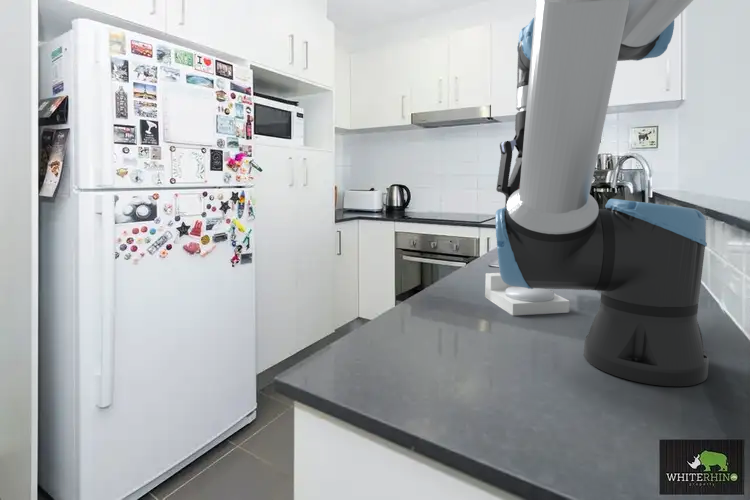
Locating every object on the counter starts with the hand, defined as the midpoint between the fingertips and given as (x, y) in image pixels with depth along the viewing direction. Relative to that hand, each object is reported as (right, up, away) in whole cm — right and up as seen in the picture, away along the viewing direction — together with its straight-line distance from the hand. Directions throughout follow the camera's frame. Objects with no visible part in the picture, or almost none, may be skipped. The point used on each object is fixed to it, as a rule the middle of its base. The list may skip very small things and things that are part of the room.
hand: (530, 227), depth 88 cm
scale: (0, -16, +5) cm, 17 cm away
